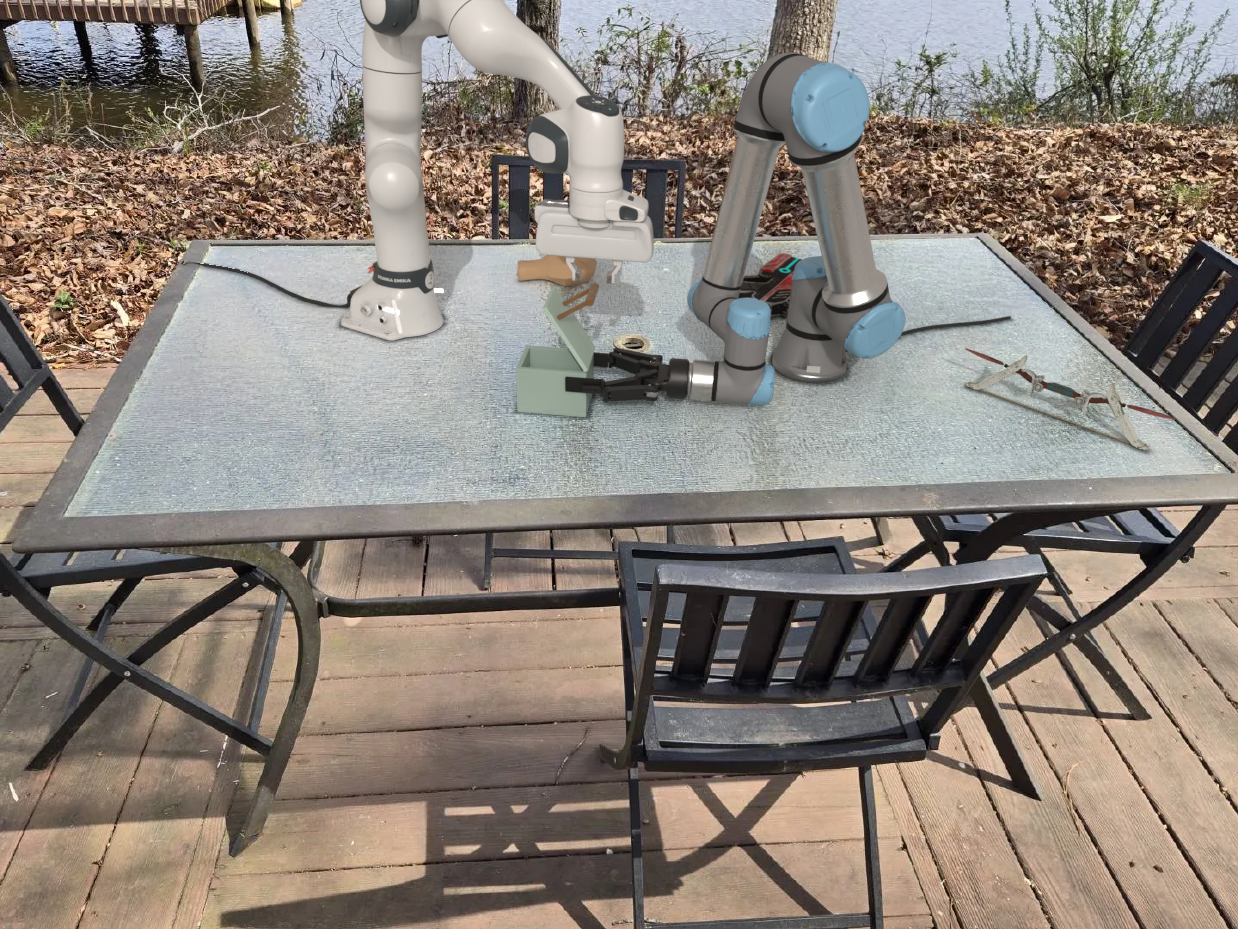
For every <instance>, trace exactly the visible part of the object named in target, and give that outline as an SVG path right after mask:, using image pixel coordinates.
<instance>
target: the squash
mask: <svg viewBox="0 0 1238 929" xmlns="http://www.w3.org/2000/svg"><path fill="white" fill-rule="evenodd" d="M574 262H575V264H576V266H577V268H578V269H582V280H581V281H573V280H572V271H571V270H570V268H569V266H568V264H567V263H566V256H553V255H544V256H543V257H541V258H538V259H529V260H527V259H526V260H523V259H521V260H518V261H517V263H516V264H517V269H516V276H517V278H518V279H519V281H520V282H523V281H528V280H545V281H551V282H552V283H555V284H558V285H559V286H563V287H577V286H580V285H582V284H584V283H585V282H588V281H590V280H591V279H593V277H594V276H595V272H596V270H597V265H598V261H597V259H592V258H579V257H576V259H575V261H574Z"/></svg>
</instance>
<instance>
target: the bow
mask: <svg viewBox="0 0 1238 929" xmlns="http://www.w3.org/2000/svg"><path fill="white" fill-rule="evenodd" d="M964 349H965V351H967V352H969V353H970V354H973V355H975V356H977V357H979V358H981V359H983V360H986V361H988V362H990V363H991V362H992V363H993V364H997V365H1000V366H1003V368H1005V369H1003V370H1002V371H998V372H995V373H993V374H990V375H988V376H987V377H985V378H984V379H982V380H981V381H979V382H978V381H968V382H966V383H965V386H967V388H969V389H972V390H977V391H981V392H984V393H987V394H988V395H989V394H990V395H993V396H994V397H995V396H996V397H998V398H1001V399H1003V400H1007V401H1009V402H1012V403H1015V404H1018V405H1020V406H1022V407H1023V406H1024V407H1026V408H1029V409H1032V410H1034V411H1038V412H1040V413H1043V414H1044V415H1048V416H1051V417H1054V418H1056V419H1060V420H1062V421H1065V422H1067V423H1071V424H1074V425H1075V426H1076V425H1077V426H1079V427H1082V428H1085V429H1088V430H1090V431H1093V432H1095V433H1099V434H1102V435H1105V436H1107V437H1110V438H1112V439H1114V440H1117V441H1121V442H1124V443H1127V444H1129V445H1131V446H1132V447H1135V448H1136V449H1140V450H1143V451H1148V449H1149V448H1150V445H1148V443H1146V442H1144V441H1143V440H1141V439H1140V438H1139V437H1138V436H1137V432H1136V429H1135V427H1134V425H1133V423H1132V422H1131V420H1130V418H1129V416H1128V415H1127V414H1126V413H1125V411H1124V408H1126V407H1127V408H1128V409H1131V410H1133V411H1136V412H1140V413H1142V414H1146V415H1150V416H1154V417H1157V418H1163V419H1169V420H1177V418H1176V417H1174V416H1171V415H1168V414H1165V413H1161V412H1158V411H1156V410H1152V409H1149V408H1146V407H1142V406H1138V405H1134V404H1127V403H1125V402H1124V403H1122V401H1121V396H1120V395H1119V394H1118V392H1117V391H1116V386H1115V383H1114V382H1112V383H1111V384H1110V385H1109V387H1108V389H1107V393H1106V395H1104V394H1103V393H1101V392H1092V393H1091V391H1088V389H1084V390H1083V391H1082V392H1081V393H1079V392H1077V391H1076V390H1075V389H1074V388H1072V387H1070V386H1066V385H1063V384H1060V383H1058V382H1055V381H1053V382H1052V381H1044V380H1045V377H1046V376H1045V375H1044V374H1042V375H1040V374H1039V375H1037V374H1036V372H1035V371H1033V370H1031V369H1029V368H1023V367H1024V366H1025V365H1026V362H1027V360H1028V356H1029V355H1028V354H1025V355H1024V356H1023V357H1022V358H1020V359H1019V360H1017V361H1014V362H1012V363H1011V364H1010V365H1009V364H1007V363H1004V362H1003V361H1001V360H1000V359H996V358H995V357H992V356H990V355H988V354H984V353H982V352H979V351H976V350H972V349H970V348H966V347H965V348H964ZM1016 375H1019V376H1021V378H1023V379H1024V380H1025V381H1026V382H1028V383H1030V385H1029V388H1027V391H1026V392H1025V394H1026V395H1028V396H1031V395H1032V394H1033V392H1034V391H1035V392H1036V393H1041V392H1042V391H1043V390H1044V389H1045V390H1047V391H1050V392H1053V393H1056V394H1058V395H1062V396H1065V397H1068V398H1071V399H1073V403H1074V405H1076V406H1077V407H1082V408H1081V415H1085V416H1086V415H1087V414H1088V413H1089V409H1090V406H1089V405H1090V404H1100V405H1101V404H1106V405H1107V406H1108V407H1109V409H1110V410H1111V412H1112V413H1113V415H1114V417H1115V418H1116V420H1117V422H1118V425H1119V427H1120V429H1121V431H1122V434H1123V435H1124V436H1125V438H1126V439H1127V440H1123V439H1121V438H1119V437H1115V436H1112V435H1110V434H1106V433H1105V432H1101V431H1099V430H1096V429H1093V428H1090V427H1089V426H1088V427H1087V426H1085V425H1083V424H1082V425H1081V424H1080V423H1076V422H1074V421H1070V420H1068V419H1065V418H1062V417H1060V416H1057V415H1053V414H1051V413H1048V412H1045V411H1042V410H1040V409H1037V408H1034V407H1031V406H1028V405H1027V404H1023V403H1020V402H1017V401H1015V400H1011V399H1010V398H1006V397H1004V396H1001V395H998V394H995V393H992V392H990V391H987V390H983V389H985V388H988V387H993V386H994V385H996V384H997V383H998V382H1001V381H1003V380H1005V379H1007V378H1010V377H1013V376H1016Z"/></svg>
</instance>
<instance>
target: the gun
mask: <svg viewBox="0 0 1238 929" xmlns="http://www.w3.org/2000/svg"><path fill="white" fill-rule="evenodd" d="M800 260H802V258H799V257H795V256H793V255H792V254H791V253H784V252H780V253H778V254H777V255H775V256H774V257H773V258H771V259H770V260H768V261H767V262H766V263H765V264H763V265H762V266H761V267H760V269H759V271H758V273H757V274H756V275H753V274H752V275H751V274H750V275H744V278H743V282H742V286H741V290H740V293H739V297H738V299H739V298H755V299H758V300H760V301H764V302H766V303H767V304H768V305H769V307H770V309H771V318H772V317H777V316H780V317H784V318H787V315H788V308H789V301H790V294H791V287H792V277H793V273H794V269H795V266H796V264H797V263H798V262H799V261H800Z"/></svg>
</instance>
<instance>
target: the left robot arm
mask: <svg viewBox="0 0 1238 929" xmlns="http://www.w3.org/2000/svg"><path fill="white" fill-rule="evenodd" d="M359 5H360V9H361V13H362V15H363V17H364V26H363V35H362V50H361V51H362V52H361V64H362V65H361V67H362V69H361V71H362V101H363V102H362V103H363V106H362V107H363V123H364V126H363V127H364V146H365V147H364V148H365V149H364V150H365V167H364V168H365V170H364V184H365V189H366V195H367V202H368V208H369V213H370V220H371V224H372V230H373V238H374V245H375V246H374V247H375V253H376V254H375V255H376V261H374V262H373V263H372V265H371V266H369V267H368V268H367V274H370V273H372V277H371V278H370V279H369V280H367V282H365V283H364V284H362V285H359V286H358V287H356V288H353V289H351V290H349V293H348V295H347V296H346V303H344V304H341V305H340V304H339V305H338V304H337V305H336V304H331V303H328V302H324V301H321V300H316V299H312V298H307V297H305V296H302V295H299V294H297V293H295V292H292V291H290V290H288V289H286V288H284V287H282V286H280V285H279V284H276V283H274V282H272V281H270V280H268V279H266V278H264V277H263V276H260V275H258V274H255V273H252V272H250V271H247V270H244V271H246V272H244V271H240V270H241V268H236V267H234V268H235V269H232V268H233V267H232V268H228V267H229V266H227V267H222V266H223V265H221V266H216V265H217V264H214V265H209V264H210V263H207V262H203V263H204V264H200V263H194V265H199V266H202V267H205V268H213V269H218V270H225V271H229V272H230V271H231V272H235V273H238V274H241V275H245V276H248V277H250V278H253V279H255V280H258V281H261V282H263V283H265V284H266V285H268V286H271V287H272V288H274V289H276V290H278V291H280V292H282V293H284V294H286V295H288V296H291V297H293V298H295V299H297V300H300V301H303V302H306V303H309V304H313V305H317V306H318V305H319V306H321V307H327V308H338V309H339V308H341V309H347V308H349V310H347V311H346V313H344V314H343V316H342V317H341V320H340V324H341V326H342V327H344V328H347V329H350V330H354V331H357V332H360V333H364V334H367V335H370V336H373V337H377V338H380V339H383V340H387V341H396V340H397V341H398V340H401V339H404V338H412V337H420V336H423V335H427V334H430V333H431V334H432V333H434V332H436V331H437V330H439V329H441V327H442V326H443V325H444V323H445V320H444V317H443V314H442V312H441V310H440V307H439V303H438V300H437V296H436V293H441V294H443V293H444V291H445V290H444V288H435V271H434V264H433V260H432V259H431V253H430V243H429V232H428V222H427V212H426V201H425V191H424V189H425V188H424V179H423V172H422V162H421V158H422V156H421V154H422V120H423V119H422V118H423V57H422V56H423V55H422V50H423V44H424V42H425V40H426V39H427V38H430V37H436V39H442V38H447V37H448V38H449V40H450V41H451V43H452V44H453V45H454V47H455V49H456V50H457V52H458V53H459V55H460V56H462V58H463V59H464V60H465V61H466V62H467V63H468V64H469V65H471V66H472V67H473V68H474V69H476V70H478V71H480V72H482V73H485V74H491V75H497V76H505V77H511V78H515V79H519V80H523V81H527V82H530V83H532V84H534V85H536V86H537V87H539V88H540V89H541V90H543V91H544V92H545V93H546V94H547V96H548V97H549V98H550V99H551V100H552V101H553V103H554V104H556V106H557V107H558V108H559V109H556V110H551V111H548V112H544V113H541V114H539V115H536V116H534V117H533V118H532V119H531V120H530V122H529V124H528V126H527V128H526V133H525V147H526V152H527V155H528V158H529V160H530V161H531V163H532V165H533V166H534V167H536V169H537V170H539V171H540V172H542V173H546V174H565V175H567V176H568V177H569V186H568V191H569V192H568V193H569V194H568V198H569V199H568V200H567V199H551V198H544V199H543V200H541V201H539V202H537V203H536V204H535V206H534V220H535V222H536V224H537V227H536V234H535V250H536V251H537V253H538V254H539V255H542V256H546V255H553V256H566V263H567V264H568V266H569V268H570V270H571V271H572V280H573V281H581V280H582V269H578V268H577V266H576V264H575V262H574V261H575V259H576V257H579V258H592V259H595V260H607V261H613V264H612V265H613V266H614V267H613V269H612V270H607V272H606V276H605V278H606V280H605V284H609V285H615V284H616V279H617V274H618V272H619V271H620V270H621V268H622V266H623V262H630V263H631V262H632V263H643V264H648V263H649V262H650V261H651V260H652V259H653V257H654V251H655V250H654V249H655V238H654V235H655V234H654V226H653V222H652V220H651V217H649V215H648V214H649V205H650V204H649V200H648V199H647V198H645V197H642V196H640V195H637V194H635V193H632V192H630V191H627V190H625V189H624V181H623V178H622V168H623V164H624V160H625V136H626V134H625V132H626V131H625V124H624V117H623V113H622V110H621V108H620V105H618V104H617V103H616V102H615V101H614V100H612V99H610V98H607V97H604V96H598V95H596V93H595V92H593V91H592V89H591V88H590V87H589V86H588V85H587V84H586V82H584V80H583V79H582V78H581V77H580V76H579V75H578V73H577V72H576V71H575V70H574V69H573V68H572V66H571V65H570V64H569V63H568V61H566V60H565V59H564V57H562V55H561V54H560V53H559V52H558V51H557V50H556V49H555V48H554V47H553V46H552V45H551V43H549V41H547V40H546V39H544V38H543V37H542V36H541V35H540V34H538V33H536V32H535V31H533V29H531V28H530V27H528V25H526V24H525V23H524V22H523V21H522V20H521V19H520V18H519V17H518V16H517V15H516V14H515V13H514V12H513V11H512V10H511V8H510V7H509V6H508V5H507V4H506V2H505V1H504V0H359ZM183 263H184V260H183V261H181V263H180V265H181V264H183ZM247 272H248V273H247Z"/></svg>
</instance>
